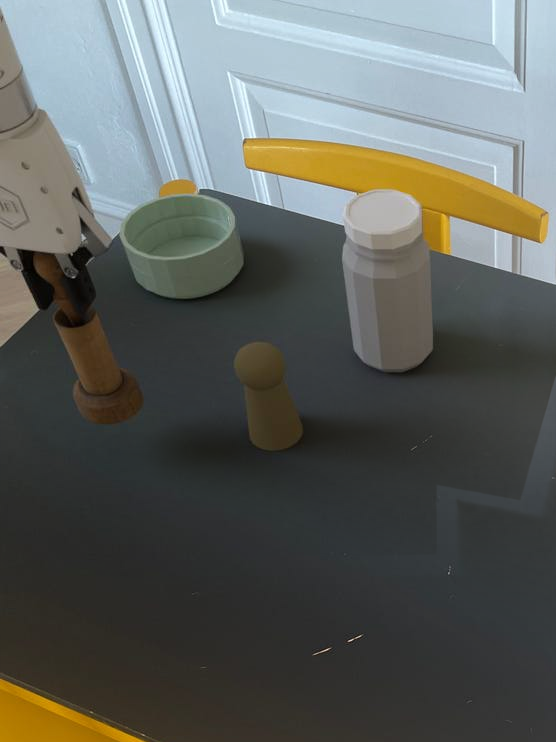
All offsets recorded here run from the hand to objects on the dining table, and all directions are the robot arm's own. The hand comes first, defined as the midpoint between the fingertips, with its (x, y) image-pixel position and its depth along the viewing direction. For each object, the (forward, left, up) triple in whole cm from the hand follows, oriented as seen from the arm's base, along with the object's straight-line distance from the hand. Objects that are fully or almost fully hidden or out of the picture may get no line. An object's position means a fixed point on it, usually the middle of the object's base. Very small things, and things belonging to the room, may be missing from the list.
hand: (67, 301), depth 84 cm
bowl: (-5, +32, -18) cm, 37 cm away
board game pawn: (+15, +5, -18) cm, 25 cm away
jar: (+25, +21, -18) cm, 38 cm away
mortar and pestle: (0, 0, -13) cm, 13 cm away
